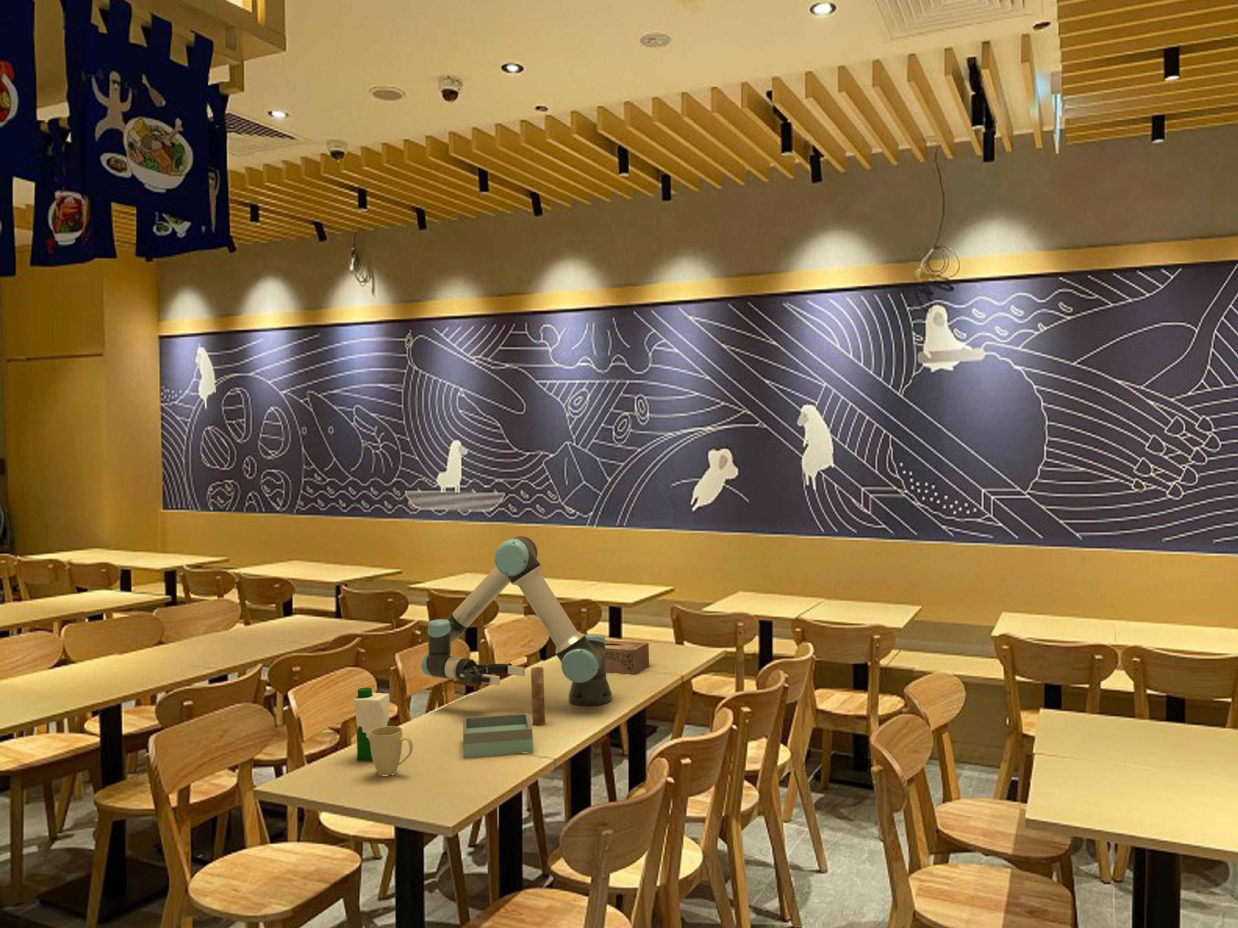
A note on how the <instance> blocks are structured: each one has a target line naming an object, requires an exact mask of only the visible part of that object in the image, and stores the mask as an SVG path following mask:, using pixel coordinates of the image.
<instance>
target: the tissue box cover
mask: <svg viewBox="0 0 1238 928" xmlns="http://www.w3.org/2000/svg"><path fill="white" fill-rule="evenodd" d="M605 643H606V645H605V652H606V674H613V673H618V674H617V675H626V674H630V675H631V676H636V674H637V675H638V674H640V673H642V672H643V671H645V670H646V668H647V669H648V668H650V648H649V646H650V644H649V642H645V641H643V642H641V641H625V640H610V639H609V640H608V639H605ZM641 671H642V672H641ZM630 675H629V676H630Z"/></svg>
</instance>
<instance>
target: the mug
mask: <svg viewBox="0 0 1238 928" xmlns="http://www.w3.org/2000/svg"><path fill="white" fill-rule="evenodd" d="M369 738H370V747H371V755H372V759H373V761H372V762H373V765H374V767H375V770H376V773H377V775H378V776H379V775H392V774H394V773H396V774H397V771H398V768H399V766H400V765H402V764H403V763H405V761H407V759H408V758H409V757H410V756H411V755H412V753H413V748H414V746H413V745H414V744H413V741H412V739H411V737H410V738H409V737H403V728H402V727H400V726H392V725H389V726H385V727H379V728H375V729H373V730H371V731H370V732H369ZM404 741H407V743H408V745H409V751H408V754H407V755H406V756H405V757H404V759H402V760H401V756H402V751H403V750H402V748H403V746H402V745H403V742H404ZM400 760H401V761H400ZM392 776H393V775H392Z"/></svg>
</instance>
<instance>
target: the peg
mask: <svg viewBox="0 0 1238 928" xmlns="http://www.w3.org/2000/svg"><path fill="white" fill-rule="evenodd" d="M544 675H545V674H544V667H542V666H536V667H531V668H530V677H531V678H530V681H531V682H530V683H531V684H530V685H531V687H530V688H531V710H532V711H531V714H532V726H534V725H536V726H535V727H539V726H541V725H542V726H545V725H546V713H545V712H546V709H545V708H546V707H545V683H544V682H545V681H544V680H545V679H544Z"/></svg>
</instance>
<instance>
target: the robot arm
mask: <svg viewBox="0 0 1238 928" xmlns="http://www.w3.org/2000/svg"><path fill="white" fill-rule="evenodd" d="M538 553H539V552H538V548H537V545H536V543H535V542H534V540H532V539H531V538H530V537H527V536H524V535H523V536H522V535H521V536H515V537H513V538H510V539H506V540H505V541H503V542H502V543H501V544H500V545H499V546H498V547H497V548H496V549H495V553H494V563H495V567H494V568H492V570H491V571H490V572H489V573H488V574H487V575H486V576H485V577H484V578H483V579H482V581H480V582H479V584H478V585H477V586H476V587H475V588H474V589H473V591H472V592H471V593H470V594H468V596H467V597H466V598H465V599H464V600H463V601H462V602H461V604H459V605H458V606H457V608H455V610H454V611H453V612H452V613H451V614H450V615H449V616H448V617H447V618H446V619H444V618H443V619H441V618H440V619H434V620H430V621H429V622H428V626H427V627H428V628H427V638H428V639H427V640H428V641H427V642H428V643H427V646H428V653H427V654H425V656H423V658H422V662H421V665H420V666H421V670H422V672H423V674H425V675H427V676H429V677H433V678H440V679H447V680H448V679H450V680H453V681H454V682H456V681H460V682H461V681H462V682H468V683H470V684H472V685H476V684H477V686H482V684H487V685H494V686H501V681H500V680H501V679H500V678H501V677H500V676H499V675H497V674H507V675H511V676H513V675H514V676H519V677H525V676H526V675H525V674H526V672H525V671H526V668H525V667H522V666H515V665H513V664H512V663H510V662H508V663H487V662H486V663H483V664H480V663H479V664H477V663H476V661H475V660H474V659H472V658H466V657H465V658H464V657H459V656H451V652H452V651H451V647H452V646H451V643H453V642H455V641H456V640H458V639H459V638H461V637H462V636H463V635H464V633H465V631H466V630H467V629H468V628H469V627H470V625H472V624H473V622H475V620H476V619H477V618H478V617H479V616H480V615H481V614H482V613H483V612H484V611H485V610H486V609H487V607H488V606H489V605H490V604H492V602H493V601H494V600H495V599H496V598H497V597H498V595H500V594H501V593H502V592H503V590H504V589H505V588H506V587H508V585H509V584H510V583H511V585H514V586H517V587H518V588H519V589H520V591H521V592H522V594H523V595H524V597H525V598H526V601H527V602H528V603H529V605H530V607H531V608H532V610H533V611H534V613H535V614H536V616H537V617H538V619H539V621H540V623H541V624H542V626H543V627H544V629H545V630H546V632H547V633H548V635H549V637H550V639H551V640H552V642H553V644H554V645H555V646H556V648H555V652H554V653H555V654H556V657H557V658H558V659H559V662H560V663H561V671H562V674H563V675H564V676H565V678H567V679H568V680H569V681H571V682H572V683H571V685H570V689H569V693H568V702H569V703H570V704H572V705H577V706H584V707H585V706H587V707H589V706H590V707H591V706H601V705H605V704H607V703H610V702H611V701H612V700H613V698H612V697H613V694H612V693H613V692H612V690H611V687H610V685H609V681H608V679H607V673H606V652H605V645H606V643H605V640H606V638H605V636H604V635H602V634H585V633H581V632H578V630H577V629H576V626H575V625H574V624H573V622H572V621H571V619H570V617H569V616H568V615H567V613H566V611H565V610H564V608H563V606H562V605H561V604H560V602H559V600H558V599H557V596H555V594H554V592H553V590H552V589H551V588H550V586H549V584H548V583H547V581H546V580H545V578H544V577H543V575H542V573H541V569H542V565H541V563H540V562H539V560H538V555H539V554H538ZM492 674H493V675H492ZM495 674H496V675H495Z"/></svg>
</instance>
